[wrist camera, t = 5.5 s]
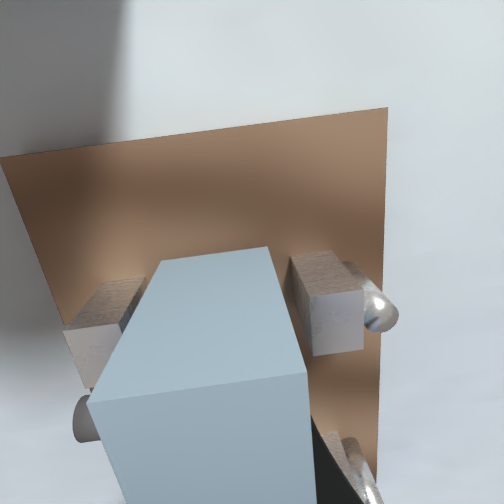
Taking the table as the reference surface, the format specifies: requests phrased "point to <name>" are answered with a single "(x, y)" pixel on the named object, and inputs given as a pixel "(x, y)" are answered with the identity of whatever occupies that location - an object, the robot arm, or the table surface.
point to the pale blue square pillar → (206, 390)
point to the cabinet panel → (222, 223)
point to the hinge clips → (310, 314)
